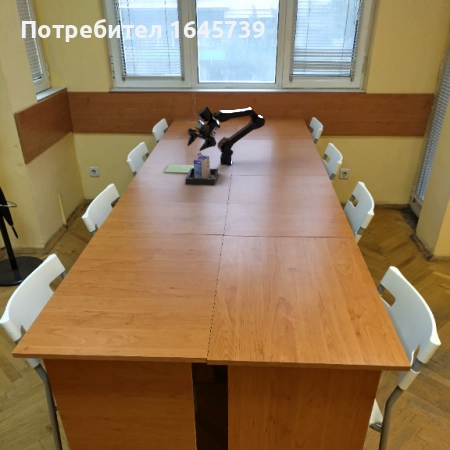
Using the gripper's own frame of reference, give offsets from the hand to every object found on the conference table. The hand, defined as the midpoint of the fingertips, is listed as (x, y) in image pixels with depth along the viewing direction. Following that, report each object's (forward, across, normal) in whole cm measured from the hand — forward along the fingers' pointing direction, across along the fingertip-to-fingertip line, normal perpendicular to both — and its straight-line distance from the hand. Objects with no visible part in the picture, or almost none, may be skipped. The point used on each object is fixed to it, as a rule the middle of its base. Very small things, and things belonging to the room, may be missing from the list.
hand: (193, 148), depth 260 cm
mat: (+10, -6, +11) cm, 16 cm away
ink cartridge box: (+14, +15, +5) cm, 21 cm away
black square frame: (+13, +15, +5) cm, 21 cm away
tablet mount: (-56, -59, +55) cm, 99 cm away
